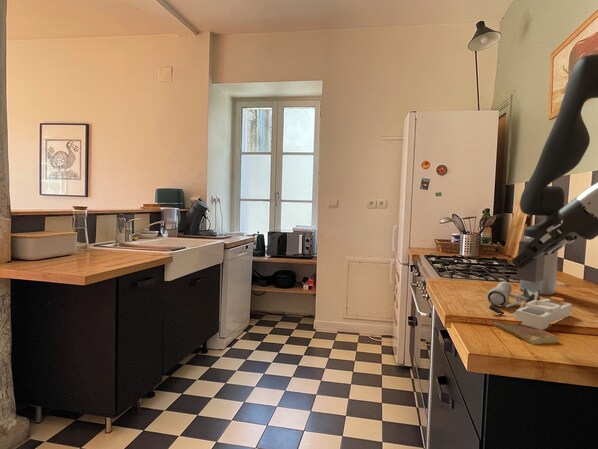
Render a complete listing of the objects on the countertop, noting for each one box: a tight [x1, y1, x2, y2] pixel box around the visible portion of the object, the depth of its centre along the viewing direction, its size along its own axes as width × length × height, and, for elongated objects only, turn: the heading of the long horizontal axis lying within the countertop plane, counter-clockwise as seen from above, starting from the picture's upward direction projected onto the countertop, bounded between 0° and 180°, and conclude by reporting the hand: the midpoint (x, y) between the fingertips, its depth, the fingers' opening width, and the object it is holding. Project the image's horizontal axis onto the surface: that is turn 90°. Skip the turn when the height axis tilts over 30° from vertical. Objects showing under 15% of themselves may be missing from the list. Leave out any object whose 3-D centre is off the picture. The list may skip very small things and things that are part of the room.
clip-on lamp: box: [485, 281, 541, 316], centre depth 95 cm, size 12×6×18 cm
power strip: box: [514, 296, 573, 331], centre depth 88 cm, size 21×6×4 cm, turn 127°
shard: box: [492, 320, 560, 345], centre depth 78 cm, size 11×8×2 cm
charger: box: [516, 240, 545, 282], centre depth 75 cm, size 4×4×8 cm
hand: (520, 263), depth 77 cm, fingers closed on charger, 4 cm apart
